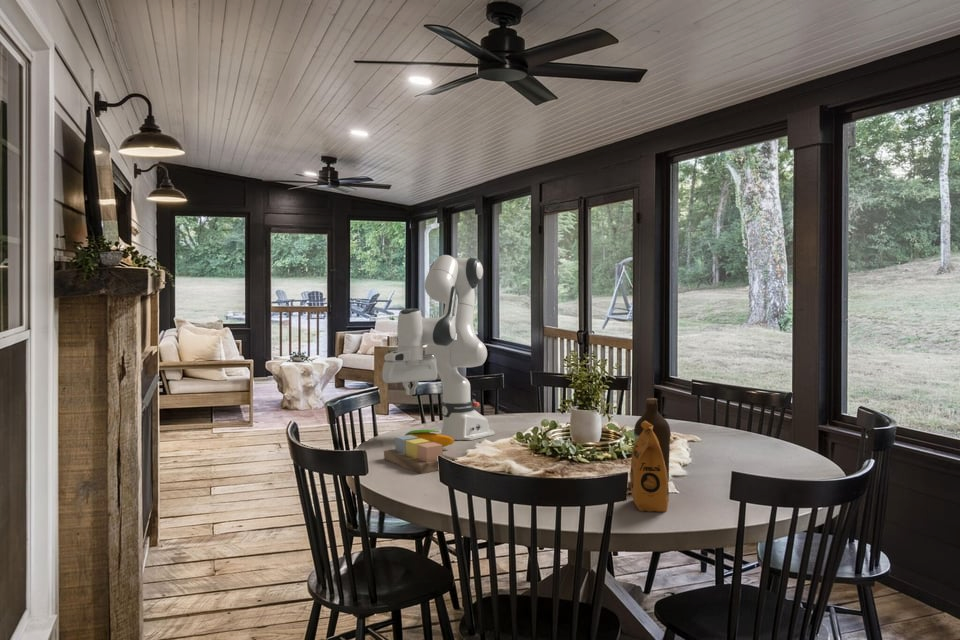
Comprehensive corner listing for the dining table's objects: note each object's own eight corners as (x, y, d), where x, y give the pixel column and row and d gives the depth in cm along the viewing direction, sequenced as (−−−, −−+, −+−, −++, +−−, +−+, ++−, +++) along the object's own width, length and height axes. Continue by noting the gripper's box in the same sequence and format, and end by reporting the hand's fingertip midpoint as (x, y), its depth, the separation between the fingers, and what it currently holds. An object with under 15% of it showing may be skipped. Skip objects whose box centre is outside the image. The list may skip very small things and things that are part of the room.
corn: (404, 426, 269) (456, 427, 266) (405, 446, 270) (457, 446, 267) (399, 432, 262) (452, 432, 259) (400, 452, 263) (453, 452, 260)
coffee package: (631, 512, 186) (630, 428, 185) (630, 498, 198) (629, 419, 197) (670, 513, 184) (669, 429, 183) (667, 499, 196) (666, 420, 195)
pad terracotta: (433, 456, 241) (433, 442, 241) (442, 459, 236) (442, 445, 236) (417, 459, 238) (417, 444, 237) (427, 462, 233) (426, 447, 233)
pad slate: (410, 448, 254) (410, 434, 254) (418, 451, 249) (418, 437, 249) (395, 451, 251) (395, 436, 251) (403, 454, 246) (403, 439, 246)
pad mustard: (421, 452, 248) (421, 438, 247) (430, 455, 243) (430, 441, 242) (406, 455, 244) (406, 440, 244) (415, 458, 239) (414, 443, 239)
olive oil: (664, 475, 221) (663, 395, 219) (675, 485, 210) (675, 400, 209) (630, 477, 220) (629, 396, 219) (640, 486, 209) (639, 402, 208)
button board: (416, 453, 258) (416, 445, 258) (455, 467, 237) (454, 458, 236) (384, 459, 251) (383, 450, 250) (421, 473, 229) (420, 464, 229)
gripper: (431, 353, 257) (432, 391, 257) (380, 355, 245) (380, 395, 245) (440, 354, 251) (440, 393, 251) (388, 356, 240) (388, 397, 240)
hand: (410, 394), depth 248 cm, fingers closed
